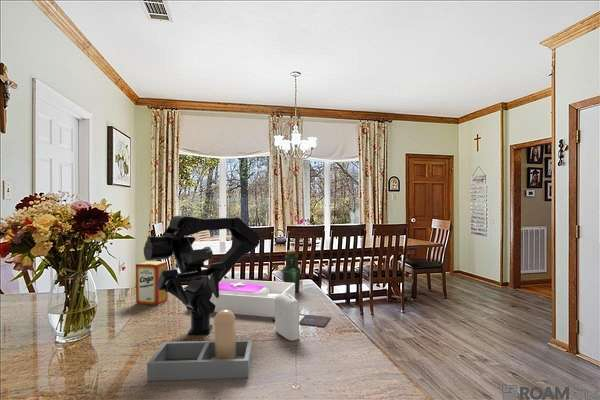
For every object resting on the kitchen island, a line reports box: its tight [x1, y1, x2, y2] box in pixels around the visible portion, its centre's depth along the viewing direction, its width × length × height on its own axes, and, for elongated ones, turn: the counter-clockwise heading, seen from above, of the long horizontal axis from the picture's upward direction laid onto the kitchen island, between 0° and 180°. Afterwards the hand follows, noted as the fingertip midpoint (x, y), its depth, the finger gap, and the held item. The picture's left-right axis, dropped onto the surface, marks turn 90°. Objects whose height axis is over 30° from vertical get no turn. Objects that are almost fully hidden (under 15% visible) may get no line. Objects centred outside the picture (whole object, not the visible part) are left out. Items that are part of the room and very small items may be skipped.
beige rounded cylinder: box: [213, 309, 237, 360], centre depth 89 cm, size 5×5×14 cm
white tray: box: [210, 278, 296, 318], centre depth 140 cm, size 22×35×7 cm, turn 75°
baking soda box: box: [135, 260, 168, 306], centre depth 143 cm, size 10×6×16 cm
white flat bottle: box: [274, 293, 301, 342], centre depth 109 cm, size 10×4×12 cm, turn 29°
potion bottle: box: [281, 249, 302, 293], centre depth 158 cm, size 8×8×18 cm
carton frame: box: [146, 339, 253, 382], centre depth 89 cm, size 12×23×4 cm, turn 93°
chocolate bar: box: [272, 313, 332, 328], centre depth 122 cm, size 9×1×18 cm
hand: (203, 300), depth 98 cm, fingers open, 9 cm apart
